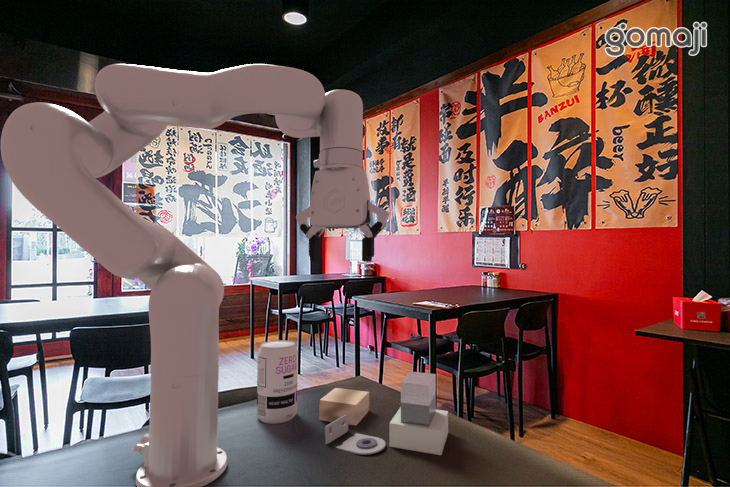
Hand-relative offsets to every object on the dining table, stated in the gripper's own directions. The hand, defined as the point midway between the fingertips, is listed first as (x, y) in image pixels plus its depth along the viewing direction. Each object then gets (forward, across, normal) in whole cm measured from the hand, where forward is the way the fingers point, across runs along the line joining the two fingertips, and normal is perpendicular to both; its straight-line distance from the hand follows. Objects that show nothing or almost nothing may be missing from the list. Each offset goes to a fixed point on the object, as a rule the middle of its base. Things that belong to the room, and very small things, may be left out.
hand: (340, 261), depth 67 cm
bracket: (+33, +2, +4) cm, 33 cm away
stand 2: (+32, +12, +9) cm, 36 cm away
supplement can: (+32, -18, +9) cm, 38 cm away
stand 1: (+32, -5, +14) cm, 36 cm away
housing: (+28, +12, +9) cm, 32 cm away
